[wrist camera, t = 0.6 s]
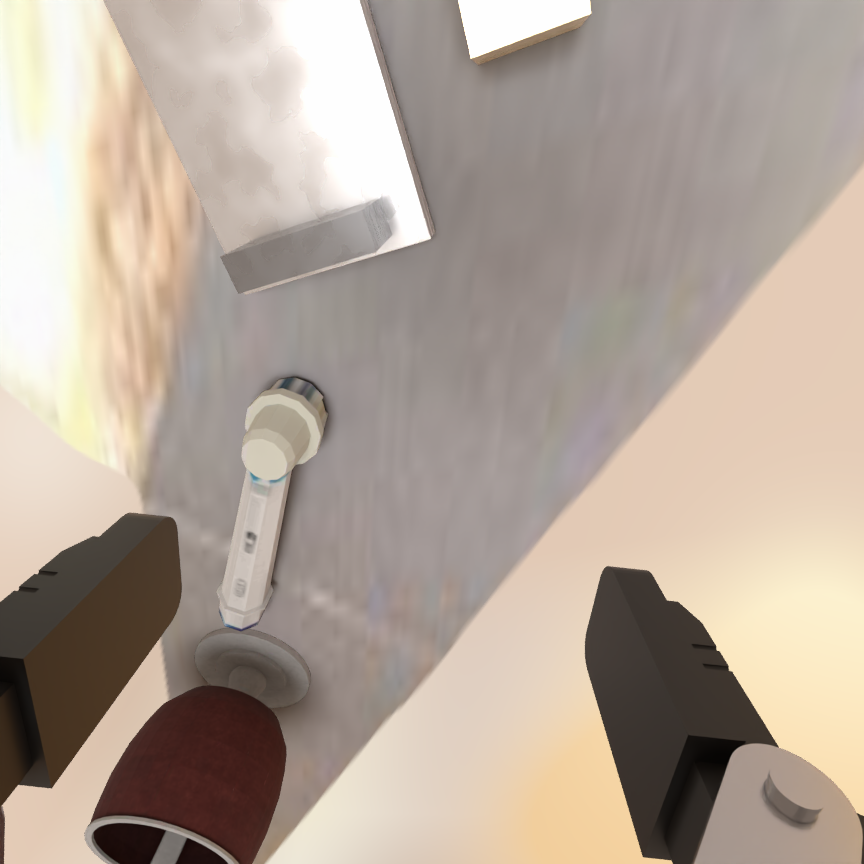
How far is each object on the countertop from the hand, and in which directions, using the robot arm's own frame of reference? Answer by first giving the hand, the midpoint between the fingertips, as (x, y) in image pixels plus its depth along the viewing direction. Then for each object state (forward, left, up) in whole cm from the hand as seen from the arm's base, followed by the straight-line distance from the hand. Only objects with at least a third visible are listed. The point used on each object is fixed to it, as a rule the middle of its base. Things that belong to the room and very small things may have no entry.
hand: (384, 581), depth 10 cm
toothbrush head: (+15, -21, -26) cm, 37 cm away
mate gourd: (+35, -34, -26) cm, 55 cm away
